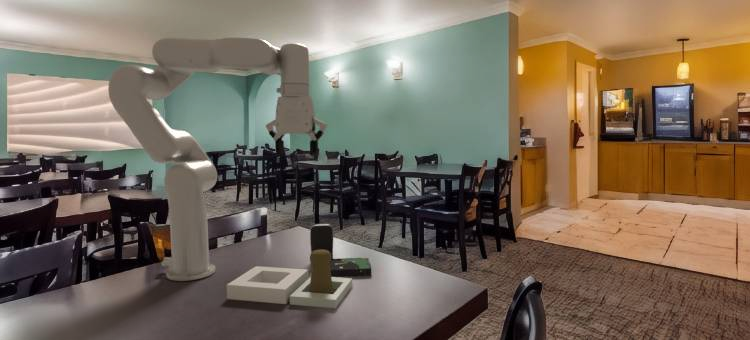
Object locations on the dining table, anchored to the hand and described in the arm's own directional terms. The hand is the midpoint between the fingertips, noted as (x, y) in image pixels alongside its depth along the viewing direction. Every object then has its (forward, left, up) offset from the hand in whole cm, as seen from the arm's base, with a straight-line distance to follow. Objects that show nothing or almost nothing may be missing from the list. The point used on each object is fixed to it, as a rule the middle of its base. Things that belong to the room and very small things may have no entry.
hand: (296, 155), depth 112 cm
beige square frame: (-2, -13, -33) cm, 36 cm away
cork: (+11, -13, -34) cm, 38 cm away
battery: (+2, +13, -34) cm, 36 cm away
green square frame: (+12, -13, -33) cm, 38 cm away
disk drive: (+12, +5, -34) cm, 36 cm away
